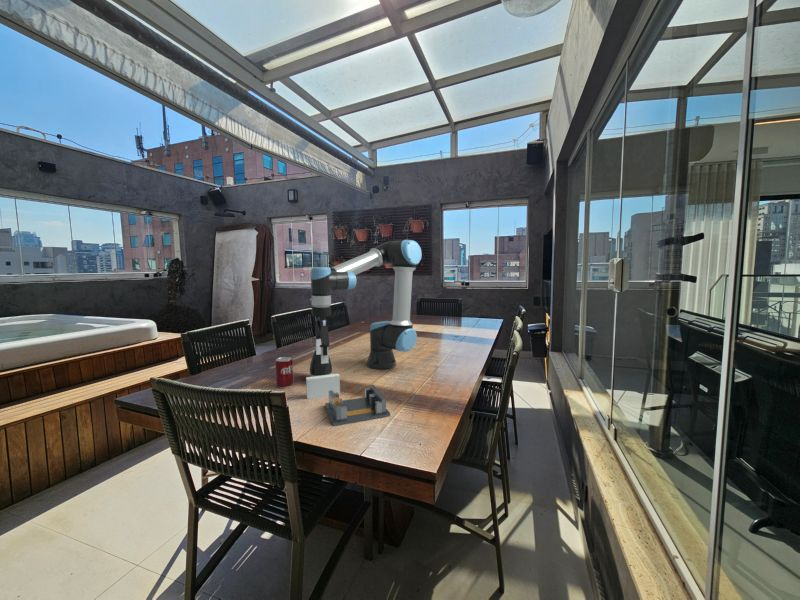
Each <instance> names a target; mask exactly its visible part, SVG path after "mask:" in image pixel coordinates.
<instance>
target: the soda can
mask: <svg viewBox="0 0 800 600" xmlns="http://www.w3.org/2000/svg"><path fill="white" fill-rule="evenodd" d="M274 361H275V362H274V363H275V385H276V387H277V388H278V387H280V388H279V389H287V388H290V387H293V385H294V383H295V382H294V379H295V378H294V359H293V358H292V357H290V356H283V357H282V356H281V357H277V358H276V359H275V360H274Z"/></svg>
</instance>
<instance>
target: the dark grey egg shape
mask: <svg viewBox="0 0 800 600" xmlns="http://www.w3.org/2000/svg"><path fill="white" fill-rule="evenodd" d="M309 364H310V365H309V374H310V377H313V376H322V375H330V374H333V373H332V372H333V366H332V361H331V358H330V356H329V363H324V364H321V354H319V355H316V349H314V352H313V353H312V356H311V361H310V363H309Z"/></svg>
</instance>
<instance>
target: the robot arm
mask: <svg viewBox="0 0 800 600" xmlns="http://www.w3.org/2000/svg"><path fill="white" fill-rule="evenodd" d="M422 256H423V255H422V248H421V246H420V245H419V243H418V242H417V241H415V240H412V239H404V240H403V239H402V240H389V241H385V242H384V243H381V244H379V245H377V246H374V247H372V248H370V250H369V251H368V252H366V253H363V254H360V255H358V256H356V257H353V258H351V259H348V260H347V261H344V262H341V263H339V264H337V265H335V266H332V267H329V266H314V267H312V268H311V269H310V271H311V272H310V286H311V287H310V290H311V292H310V293H311V294H310V296H311V297H310V298H309V300H310V301H311V306H312V307H311V316H312V317H314V318H315V331H314V332H315V334H314V336H315V350H316V355H319V354H321V364H324V363H329V357H330V354H329V347H330V337H329V326H328V322H329V321H328V319H326V318H327V317H331V315H332V307H331V305H332V291H348V290H353V289H355V288H356V286H357V279H358V278H357V276H356V275H359V274H360V273H363V272H365V271H368V270H369V269H373V268H374V267H381V266H384V265H391V268H392V269H393V270H394V283H393V284H394V285H393V286H394V288H393V303H392V304H393V305H392V320H385V321H384V320H383V321H375V322H371V324H370V327H369V328H370V329H369V336H370V337H369V342H370V344H369V345H370V347H369V348H370V350H369V354H368V357H367V360H366V363H367V365H366V366H367V367H368V368H370V369H374V370H375V369H376V370H388V369H391V368H394V367H396V365H397V360H396V358H395V353H394V351H393V350H395V351H398V352H404V353H405V352H406V353H407V352H409V351H411V350H412V349H413V348H414V347H415V346H416V344H417V341H418V335H417V334H418V333H417V332H416V330H415V329H414V328H413V325H414V324H413V322H412V321H411V310H412V309H411V307H412V305H411V304H412V290H413V288H412V287H413V274H414V273H413V272H414V271H415V270H416V269H417V265H418V264H419V263H420V262H421V260H422Z"/></svg>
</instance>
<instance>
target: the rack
mask: <svg viewBox="0 0 800 600" xmlns="http://www.w3.org/2000/svg"><path fill="white" fill-rule="evenodd" d="M324 406H325V409H326V412H327V414H328V416H329V419H330V421H331V424H332V426H333V427H337V426H342V425H348V424H354V423H359V422H366V421H372V420H377V419H383V418H387V416H389V417H391V413H390V411H389V410H388V408H387V399H386V397H385V396H384V395H383V394H382V393H381V392H380V390H378V388H377V387H376V386H375V385H374V384H370V385H369V387H366V388H364V396H363V397H358V398H352V399H345V400H343V399H342V398H340V395H339V393H338V392H336V393H334V392H333V390H332V391H329V396H328V402H326V403H324ZM382 417H383V418H382ZM376 418H377V419H376ZM371 419H372V420H371Z"/></svg>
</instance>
